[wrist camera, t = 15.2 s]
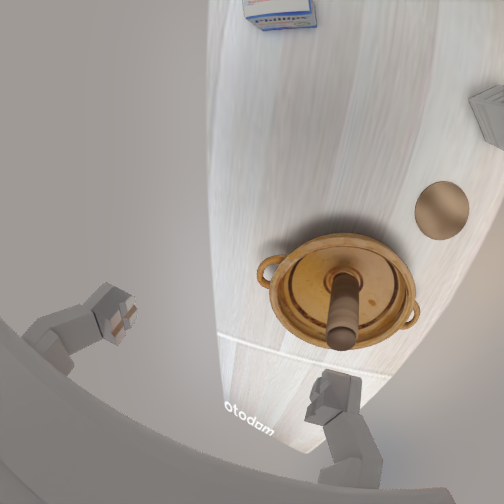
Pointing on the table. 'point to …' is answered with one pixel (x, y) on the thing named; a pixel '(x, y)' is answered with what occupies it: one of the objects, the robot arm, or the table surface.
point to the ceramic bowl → (320, 282)
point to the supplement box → (490, 114)
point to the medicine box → (280, 13)
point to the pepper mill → (343, 313)
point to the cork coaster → (442, 210)
